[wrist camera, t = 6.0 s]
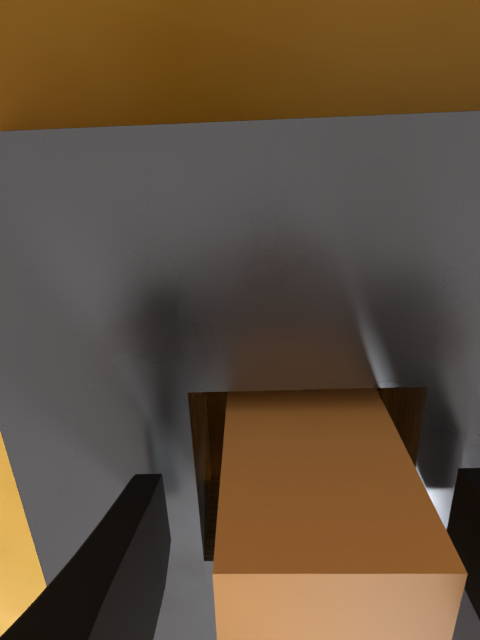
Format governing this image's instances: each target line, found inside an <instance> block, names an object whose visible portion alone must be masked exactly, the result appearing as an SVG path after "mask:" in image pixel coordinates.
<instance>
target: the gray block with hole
mask: <svg viewBox="0 0 480 640" xmlns="http://www.w3.org/2000/svg"><path fill="white" fill-rule="evenodd" d="M353 388H382V391H381V399H382V401H383V403H384V405H385V407H386V409H387V411H388V413H389V415H390V417H391V419H392V421H393V423H394V425H395V427H396V429H397V431H398V433H399V435H400V437H401V439H402V441H403V444H404V446H405V448H406V450H407V452H408V454H409V456H410V458H411V460H412V462H413V464H414V466H415V468H416V470H417V472H418V474H419V476H420V478H421V480H422V482H423V484H424V486H425V488H426V490H427V492H428V494H429V496H430V498H431V500H432V502H433V504H434V506H435V508H436V510H437V513H438V515H439V517H440V519H441V521H442V523H443V525H444V527H445V529H446V531H447V526H448V520H449V515H450V510H451V504H452V499H453V494H454V489H455V483H456V478H457V473H458V468H480V111H461V112H438V113H415V114H392V115H368V116H345V117H322V118H298V119H275V120H252V121H228V122H205V123H182V124H159V125H135V126H112V127H89V128H65V129H42V130H19V131H0V431H1V434H2V438H3V441H4V444H5V448H6V451H7V454H8V458H9V461H10V465H11V468H12V471H13V475H14V478H15V481H16V485H17V488H18V491H19V495H20V498H21V501H22V505H23V508H24V512H25V515H26V518H27V522H28V525H29V528H30V532H31V535H32V538H33V542H34V545H35V548H36V552H37V555H38V558H39V562H40V565H41V569H42V572H43V575H44V579H45V582H46V585H47V586H48V585H49V584H50V583H51V581H52V580H53V579H54V578H55V577H56V576H57V574H58V573H59V572H60V571H61V570H62V569H63V567H64V566H65V565H66V564H67V563H68V562H69V560H70V559H71V558H72V557H73V556H74V554H75V553H76V552H77V551H78V549H79V548H80V547H81V545H82V544H83V543H84V542H85V540H86V539H87V538H88V536H89V535H90V534H91V533H92V531H93V530H94V529H95V528H96V526H97V525H98V524H99V522H100V521H101V520H102V518H103V517H104V516H105V514H106V513H107V512H108V510H109V509H110V507H111V506H112V505H113V503H114V502H115V501H116V499H117V498H118V496H119V495H120V494H121V492H122V491H123V489H124V488H125V486H126V485H127V484H128V482H129V481H130V479H131V478H132V477H133V476H134V475H135V474H162V476H163V483H164V491H165V498H166V506H167V513H168V521H169V528H170V535H171V546H170V554H169V563H168V570H167V578H166V585H165V591H164V595H163V600H162V604H161V609H160V613H159V617H158V622H157V626H156V630H155V634H154V639H153V640H217V632H216V618H215V604H214V589H213V575H212V573H213V561H214V549H215V537H216V525H217V513H218V501H219V489H220V480H212V470H211V458H210V445H209V433H208V420H207V408H206V395H205V392H229V391H270V390H312V389H353ZM452 640H480V620H479V618H478V616H477V614H476V612H475V610H474V608H473V606H472V604H471V602H470V600H469V598H468V595H467V593H466V591H465V589H464V591H463V595H462V599H461V603H460V607H459V611H458V616H457V620H456V624H455V628H454V632H453V636H452Z"/></svg>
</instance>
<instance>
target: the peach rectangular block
mask: <svg viewBox="0 0 480 640" xmlns="http://www.w3.org/2000/svg"><path fill="white" fill-rule="evenodd" d="M212 575H213V589H214V604H215V618H216V632H217V640H452V636H453V632H454V628H455V624H456V620H457V616H458V611H459V607H460V603H461V599H462V595H463V591H464V587H465V583H466V579H467V575H468V573H467V571H466V569H465V567H464V565H463V563H462V561H461V559H460V557H459V555H458V553H457V551H456V549H455V547H454V545H453V543H452V541H451V539H450V537H449V535H448V533H447V531H446V529H445V527H444V525H443V523H442V521H441V519H440V517H439V515H438V513H437V510H436V508H435V506H434V504H433V502H432V500H431V498H430V496H429V494H428V492H427V490H426V488H425V486H424V484H423V482H422V480H421V478H420V476H419V474H418V472H417V470H416V468H415V466H414V464H413V462H412V460H411V458H410V456H409V454H408V452H407V450H406V448H405V446H404V444H403V441H402V439H401V437H400V435H399V433H398V431H397V429H396V427H395V425H394V423H393V421H392V419H391V417H390V415H389V413H388V411H387V409H386V407H385V405H384V403H383V401H382V399H381V397H380V395H379V393H378V391H377V389H376V388H353V389H312V390H270V391H229V392H227V404H226V417H225V429H224V441H223V453H222V465H221V477H220V489H219V501H218V513H217V525H216V537H215V549H214V561H213V573H212Z"/></svg>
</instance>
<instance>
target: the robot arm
mask: <svg viewBox="0 0 480 640" xmlns="http://www.w3.org/2000/svg"><path fill="white" fill-rule="evenodd" d="M447 533H448V535H449V537H450V539H451V541H452V543H453V545H454V547H455V549H456V551H457V553H458V555H459V557H460V559H461V561H462V563H463V565H464V567H465V569H466V571H467V573H468V575H467V579H466V583H465V587H464V589H465V591H466V593H467V595H468V598H469V600H470V602H471V604H472V606H473V608H474V610H475V612H476V614H477V616H478V618H479V620H480V468H458V473H457V478H456V483H455V489H454V494H453V499H452V504H451V510H450V515H449V520H448V526H447ZM170 546H171V535H170V528H169V521H168V513H167V506H166V498H165V491H164V483H163V476H162V474H135V475H134V476H133V477H132V478H131V479H130V481H129V482H128V484H127V485H126V486H125V488H124V489H123V491H122V492H121V494H120V495H119V496H118V498H117V499H116V501H115V502H114V503H113V505H112V506H111V507H110V509H109V510H108V512H107V513H106V514H105V516H104V517H103V518H102V520H101V521H100V522H99V524H98V525H97V526H96V528H95V529H94V530H93V531H92V533H91V534H90V535H89V536H88V538H87V539H86V540H85V542H84V543H83V544H82V545H81V547H80V548H79V549H78V551H77V552H76V553H75V554H74V556H73V557H72V558H71V559H70V560H69V562H68V563H67V564H66V565H65V566H64V567H63V569H62V570H61V571H60V572H59V573H58V574H57V576H56V577H55V578H54V579H53V580H52V581H51V583H50V584H49V585H48V586H47V587H46V588H45V590H44V591H43V592H42V593H41V594H40V595H39V596H38V598H37V599H36V600H35V601H34V602H33V603H32V604H31V605H30V606H29V607H28V609H27V610H26V611H25V612H24V613H23V614H22V615H21V616H20V617H19V618H18V619H17V620H16V621H15V622H14V623H13V625H12V626H11V627H10V628H9V629H8V630H7V631H6V632H5V633H4V634H3V635H2V636H1V637H0V640H153V639H154V634H155V630H156V626H157V622H158V617H159V613H160V609H161V604H162V600H163V595H164V591H165V585H166V578H167V570H168V563H169V554H170Z"/></svg>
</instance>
